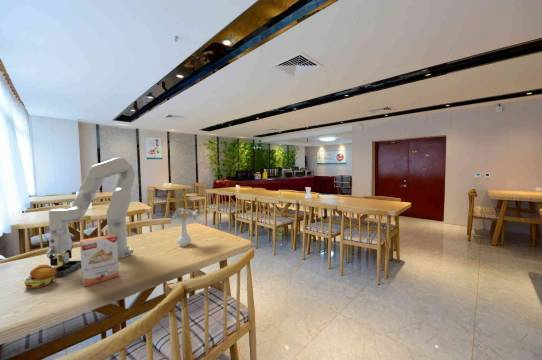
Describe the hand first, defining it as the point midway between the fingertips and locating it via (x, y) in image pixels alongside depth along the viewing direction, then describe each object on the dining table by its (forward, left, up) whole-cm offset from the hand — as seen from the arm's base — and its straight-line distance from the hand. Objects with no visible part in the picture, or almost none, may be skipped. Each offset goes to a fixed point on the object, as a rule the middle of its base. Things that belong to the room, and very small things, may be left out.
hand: (61, 261), depth 132 cm
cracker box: (-32, +18, -3) cm, 37 cm away
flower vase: (-58, -30, -3) cm, 65 cm away
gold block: (0, 0, -3) cm, 3 cm away
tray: (-7, +6, -2) cm, 10 cm away
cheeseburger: (-7, +20, -3) cm, 21 cm away
